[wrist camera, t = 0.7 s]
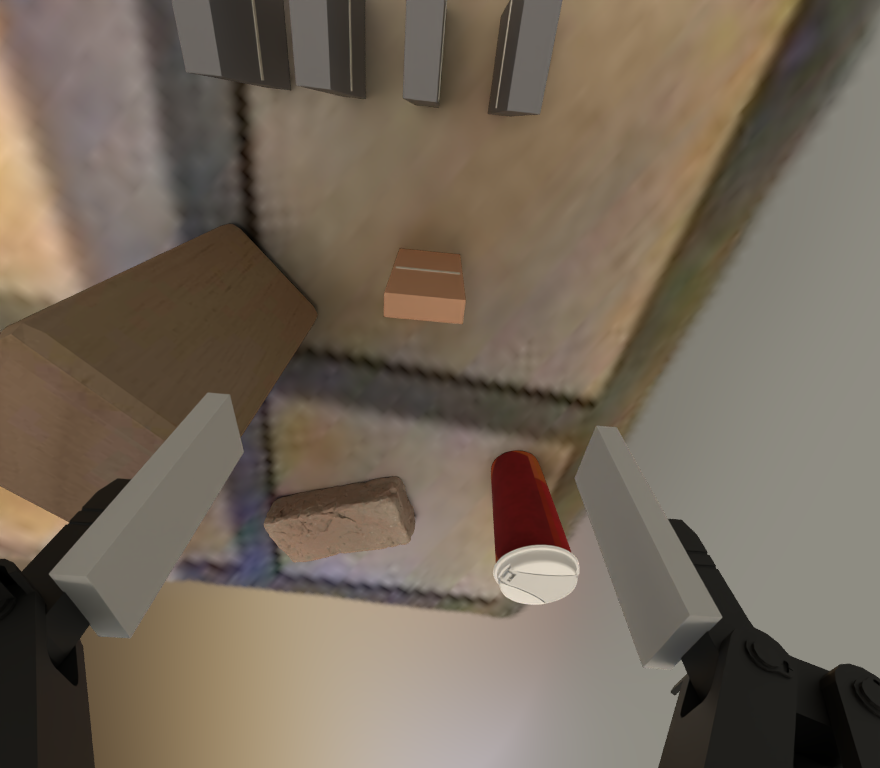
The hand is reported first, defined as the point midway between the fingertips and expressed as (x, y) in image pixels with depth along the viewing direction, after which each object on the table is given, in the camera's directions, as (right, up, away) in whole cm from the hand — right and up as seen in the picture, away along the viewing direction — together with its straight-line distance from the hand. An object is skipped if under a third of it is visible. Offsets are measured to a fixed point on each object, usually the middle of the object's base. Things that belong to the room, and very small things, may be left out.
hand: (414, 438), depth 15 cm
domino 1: (-10, +24, +11) cm, 28 cm away
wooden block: (-16, +10, +20) cm, 28 cm away
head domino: (0, +12, +18) cm, 22 cm away
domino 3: (0, +23, +11) cm, 26 cm away
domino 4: (+5, +23, +11) cm, 26 cm away
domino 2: (-5, +24, +11) cm, 26 cm away
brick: (-11, -13, +36) cm, 40 cm away
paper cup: (+10, -8, +32) cm, 34 cm away
